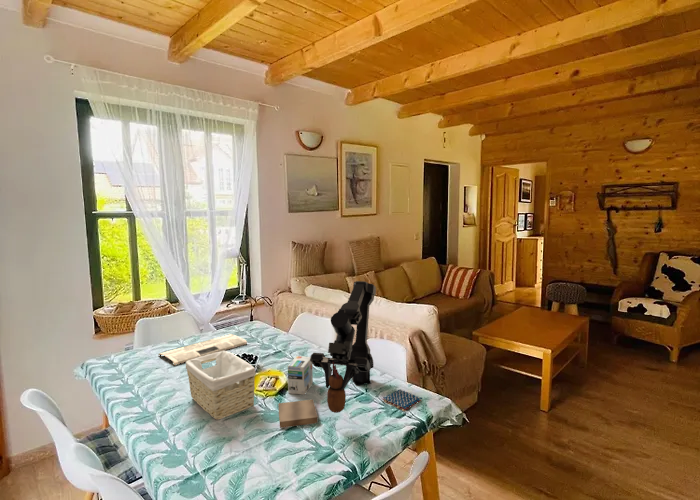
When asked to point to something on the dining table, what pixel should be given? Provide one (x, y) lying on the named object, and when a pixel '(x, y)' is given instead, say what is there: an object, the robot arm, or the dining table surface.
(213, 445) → the dining table surface
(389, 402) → the woven mat
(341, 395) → the wooden figurine
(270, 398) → the dining table surface
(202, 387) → the storage basket
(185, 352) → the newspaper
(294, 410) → the light brown wooden stand
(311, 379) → the light bulb box
